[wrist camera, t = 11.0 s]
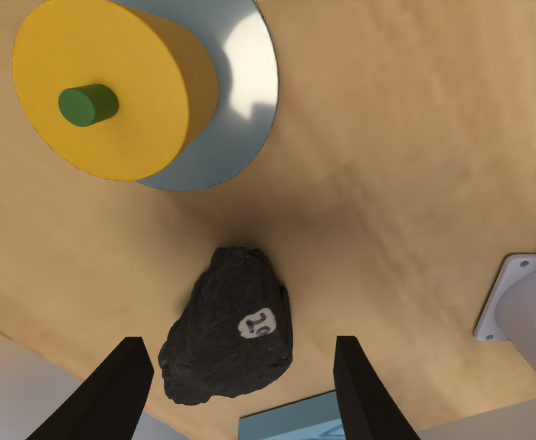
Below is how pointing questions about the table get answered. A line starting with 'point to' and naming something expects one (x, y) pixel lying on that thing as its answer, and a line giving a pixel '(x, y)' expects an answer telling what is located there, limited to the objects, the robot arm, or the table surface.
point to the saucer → (223, 89)
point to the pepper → (112, 86)
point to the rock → (229, 331)
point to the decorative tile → (296, 421)
